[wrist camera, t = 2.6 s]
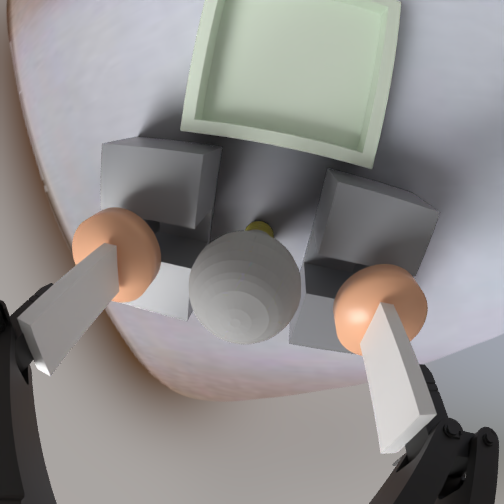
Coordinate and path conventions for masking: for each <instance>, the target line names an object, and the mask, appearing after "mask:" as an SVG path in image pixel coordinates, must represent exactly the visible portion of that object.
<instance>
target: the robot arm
mask: <svg viewBox="0 0 504 504" xmlns="http://www.w3.org/2000/svg"><path fill="white" fill-rule="evenodd" d="M118 292H119V280H118V265H117V246H116V245H112V244H108V243H103V244H102V245H101V246H99V247H98V248H97V249H96V250H94V251H93V252H92V253H91V254H89V255H88V256H87V257H86V258H84V259H83V260H82V261H81V262H80V263H78V264H77V265H76V266H75V267H74V268H73V269H71V270H70V271H69V272H68V273H66V274H65V275H64V276H63V277H62V278H61V279H59V280H58V281H57V282H56V283H55V284H52V283H50V284H48V285H46V286H44V287H42V288H41V289H40V290H38V291H37V292H36V293H35V294H34V295H33V296H32V297H30V298H29V300H27V301H26V302H25V303H24V304H23V305H22V306H21V307H20V308H18V309H17V310H16V311H15V312H14V313H13V314H12V315H11V316H9V313H8V310H7V307H6V304H5V303H4V302H3V301H1V300H0V504H56V500H55V498H54V494H53V491H52V488H51V484H50V481H49V477H48V473H47V470H46V466H45V462H44V458H43V453H42V448H41V443H40V438H39V433H38V426H37V420H36V413H35V405H34V396H33V386H32V372H31V367H30V365H29V364H30V363H31V362H32V360H34V362H35V364H36V366H37V369H39V370H40V371H42V372H44V373H46V374H48V375H50V376H51V375H52V374H53V372H54V371H55V370H56V368H57V367H58V366H59V364H60V363H61V362H62V360H63V359H64V358H65V357H66V355H67V354H68V353H69V352H70V350H71V349H72V348H73V346H74V345H75V344H76V343H77V341H78V340H79V339H80V338H81V336H82V335H83V334H84V333H85V331H86V330H87V329H88V328H89V327H90V325H91V324H92V323H93V322H94V320H95V319H96V318H97V317H98V316H99V315H100V313H101V312H102V311H103V310H104V309H105V307H106V306H107V305H108V304H109V303H110V302H111V300H112V299H113V298H114V297H115V296H116V295H117V293H118ZM360 347H361V351H362V355H363V360H364V364H365V369H366V374H367V378H368V383H369V388H370V393H371V398H372V403H373V409H374V414H375V420H376V426H377V432H378V438H379V445H380V452H381V454H383V453H397V452H398V451H399V450H401V449H402V448H403V447H404V446H405V447H406V453H405V454H404V455H403V456H402V457H401V458H399V459H398V460H397V461H396V462H395V463H394V464H393V466H395V465H396V464H397V463H398V464H397V466H396V467H395V469H394V470H393V472H392V473H391V474H390V476H389V478H388V479H387V480H386V482H385V483H384V484H383V486H382V487H381V489H380V490H379V491H378V493H377V494H376V495H375V496H374V498H373V499H372V501H371V502H370V503H369V504H494V502H495V494H496V486H497V474H498V457H499V440H498V437H497V435H496V433H495V432H494V431H493V430H492V429H491V428H489V427H483V428H481V429H480V430H479V431H478V432H477V433H475V434H474V433H469V432H465V431H463V429H462V427H461V425H460V424H459V423H458V422H457V421H456V420H454V419H452V418H448V416H447V413H446V410H445V407H444V405H443V401H442V399H441V396H440V393H439V392H438V388H437V386H436V384H435V380H434V378H433V375H432V373H431V372H430V371H429V369H428V368H427V367H426V366H425V365H422V364H419V363H418V360H417V358H416V355H415V353H414V350H413V348H412V346H411V343H410V341H409V338H408V336H407V334H406V331H405V329H404V327H403V324H402V322H401V320H400V318H399V315H398V313H397V311H396V309H395V307H394V304H388V303H383V302H380V304H379V306H378V308H377V310H376V312H375V314H374V316H373V319H372V321H371V323H370V325H369V327H368V329H367V331H366V333H365V335H364V337H363V339H362V341H361V343H360ZM465 475H466V478H465Z"/></svg>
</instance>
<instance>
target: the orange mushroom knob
mask: <svg viewBox="0 0 504 504" xmlns="http://www.w3.org/2000/svg"><path fill="white" fill-rule="evenodd" d="M380 302H383V303H388V304H394V307H395V309H396V311H397V313H398V315H399V318H400V320H401V322H402V324H403V327H404V329H405V331H406V334H407V336H408V338H409V341H411V340H412V339H413V338H414V337H415V336H416V335H417V334H418V333H419V331H420V330H421V328H422V326H423V324H424V322H425V320H426V316H427V309H428V307H427V301H426V297H425V295H424V293H423V292H422V290H421V289H420V287H419V285H418V284H417V282H416V281H415V279H414V278H413V276H412V275H411V274H410V273H409V272H408V271H407V270H405V269H403V268H401V267H399V266H396V265H391V264H378V265H373V266H367V265H362V264H358V263H356V264H355V266H354V268H353V275H352V276H351V277H349V278H348V279H347V280H346V281H345V282H344V283H343V285H342V286H341V287H340V289H339V290H338V292H337V294H336V297H335V300H334V304H333V314H334V320H335V326H336V332H337V336H338V339H339V341H340V343H341V344H342V345H343V346H344V347H345V348H346V349H347V350H349V351H350V352H353V353H355V354H358V355H362V351H361V347H360V343H361V341H362V339H363V337H364V335H365V333H366V331H367V329H368V327H369V325H370V323H371V321H372V319H373V316H374V314H375V312H376V310H377V308H378V306H379V304H380ZM362 356H363V355H362Z"/></svg>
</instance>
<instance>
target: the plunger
mask: <svg viewBox="0 0 504 504" xmlns="http://www.w3.org/2000/svg"><path fill="white" fill-rule="evenodd" d="M159 229H160V224H159V222H158V221H153V220H148V219H143V218H141V217H139V216H138V215H137V214H135V213H133V212H132V211H129V210H127V209H124V208H118V207H111V208H106V209H104V210H102V211H100V212H98V213H97V214H95V215H93V216H92V217H90V218H88V219H87V220H85V221H84V222H82V223H81V224H80V225H79V227H78V228H77V230H76V232H75V234H74V237H73V244H72V249H73V257H74V261H75V264H76V265H77V264H78V263H80V262H81V261H82V260H83V259H84V258H86V257H87V256H88V255H89V254H91V253H92V252H93V251H94V250H96V249H97V248H98V247H99V246H101V245H102V244H103V243H108V244H112V245H116V246H117V265H118V280H119V292H118V293H117V295H116V296H115V297H114V298H113V299H112V300H111V301H115V302H131V301H134V300H136V299H138V298H139V297H140V296H142V294H143V293H144V292H145V291H146V289H147V288H148V287H149V285H150V284H151V283H152V282H153V280H154V279H155V278H156V276H157V274H158V272H159V270H160V266H161V251H160V247H159V243H158V241H157V238H156V236H155V234H156V233H157V232H158V231H159Z"/></svg>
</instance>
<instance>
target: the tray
mask: <svg viewBox="0 0 504 504" xmlns="http://www.w3.org/2000/svg"><path fill="white" fill-rule="evenodd" d="M400 11H401V2H400V1H397V0H205V2H204V6H203V10H202V14H201V18H200V23H199V27H198V31H197V36H196V41H195V45H194V50H193V55H192V60H191V65H190V71H189V76H188V82H187V88H186V94H185V100H184V106H183V113H182V120H181V127H180V131H185V132H194V133H202V134H209V135H216V136H223V137H230V138H236V139H242V140H248V141H254V142H259V143H265V144H270V145H275V146H280V147H285V148H289V149H294V150H299V151H303V152H308V153H312V154H316V155H320V156H324V157H328V158H332V159H336V160H340V161H344V162H348V163H351V164H355V165H358V166H362V167H365V168H369V169H372V167H373V163H374V159H375V155H376V151H377V147H378V143H379V138H380V134H381V130H382V125H383V120H384V116H385V111H386V106H387V101H388V95H389V90H390V85H391V79H392V73H393V67H394V60H395V53H396V46H397V39H398V30H399V21H400Z"/></svg>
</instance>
